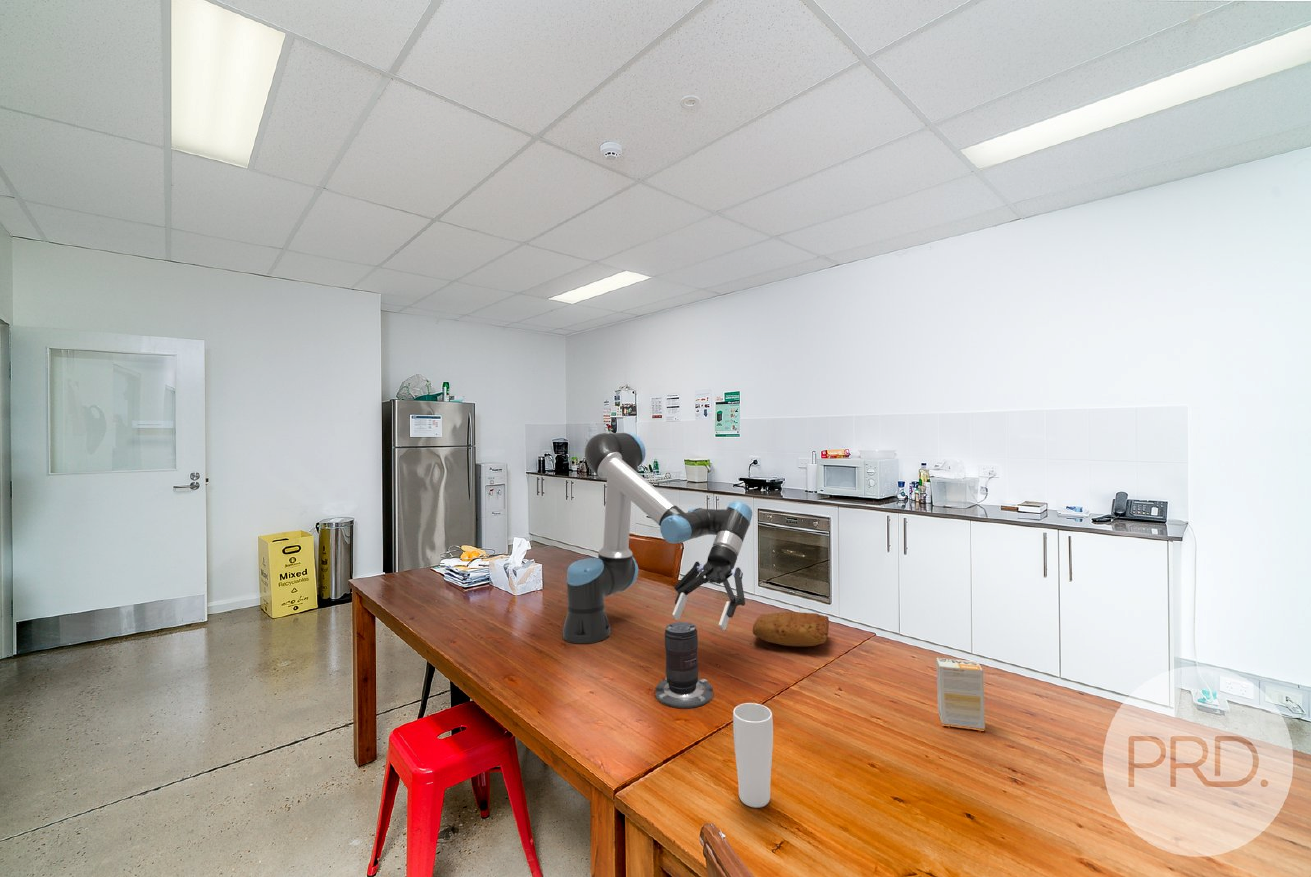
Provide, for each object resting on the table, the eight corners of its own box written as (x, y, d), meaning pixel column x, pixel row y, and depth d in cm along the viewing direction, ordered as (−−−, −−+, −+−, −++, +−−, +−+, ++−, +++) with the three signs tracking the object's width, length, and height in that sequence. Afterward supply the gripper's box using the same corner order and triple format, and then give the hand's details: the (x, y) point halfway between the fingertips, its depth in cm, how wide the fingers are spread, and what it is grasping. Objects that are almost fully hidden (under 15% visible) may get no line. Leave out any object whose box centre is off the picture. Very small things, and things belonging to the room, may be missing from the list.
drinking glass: (730, 787, 95) (728, 703, 95) (767, 784, 96) (766, 701, 96) (739, 814, 89) (737, 723, 88) (779, 811, 89) (777, 721, 89)
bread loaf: (832, 638, 164) (832, 612, 164) (826, 659, 149) (825, 630, 148) (761, 629, 173) (760, 604, 173) (748, 648, 158) (747, 621, 158)
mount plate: (644, 691, 132) (644, 685, 132) (688, 676, 140) (688, 670, 140) (679, 714, 121) (679, 708, 121) (725, 696, 129) (724, 689, 129)
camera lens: (699, 680, 134) (698, 621, 134) (698, 696, 126) (696, 633, 126) (667, 679, 135) (665, 620, 135) (664, 695, 127) (662, 632, 127)
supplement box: (979, 721, 115) (978, 660, 115) (985, 733, 111) (984, 670, 111) (937, 715, 118) (935, 656, 118) (941, 727, 113) (939, 665, 113)
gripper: (771, 565, 142) (747, 639, 130) (691, 554, 157) (663, 620, 145) (762, 549, 138) (737, 624, 126) (681, 539, 152) (651, 606, 140)
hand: (697, 622), depth 135 cm, fingers open, 13 cm apart
